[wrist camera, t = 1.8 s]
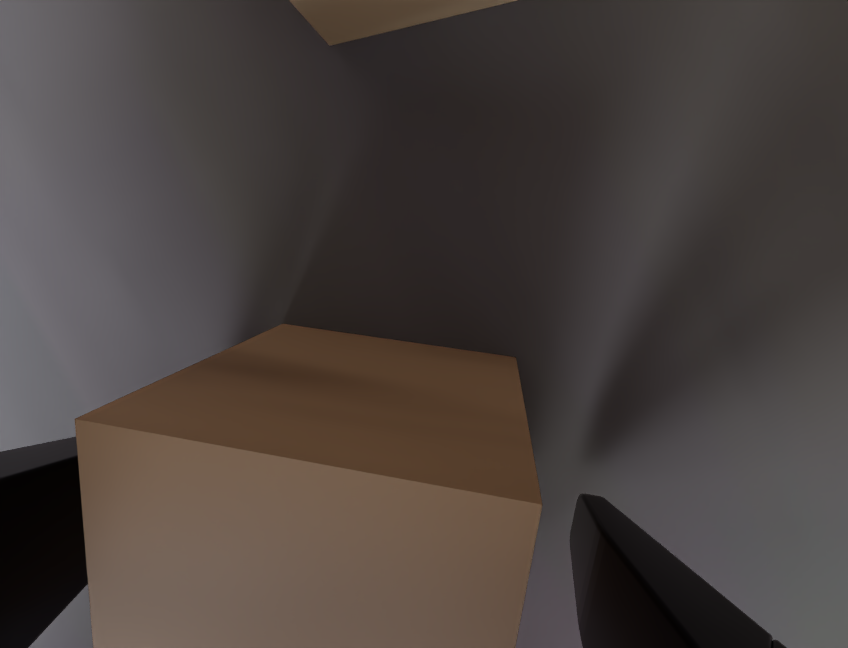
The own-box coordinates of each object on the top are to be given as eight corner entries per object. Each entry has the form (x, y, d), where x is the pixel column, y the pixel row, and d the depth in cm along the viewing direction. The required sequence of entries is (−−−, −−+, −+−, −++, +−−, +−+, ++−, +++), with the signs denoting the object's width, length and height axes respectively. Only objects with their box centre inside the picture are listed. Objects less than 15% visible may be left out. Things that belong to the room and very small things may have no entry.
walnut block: (482, 563, 10) (472, 867, 5) (277, 521, 11) (102, 760, 6) (515, 356, 9) (542, 504, 4) (284, 323, 10) (75, 418, 5)
